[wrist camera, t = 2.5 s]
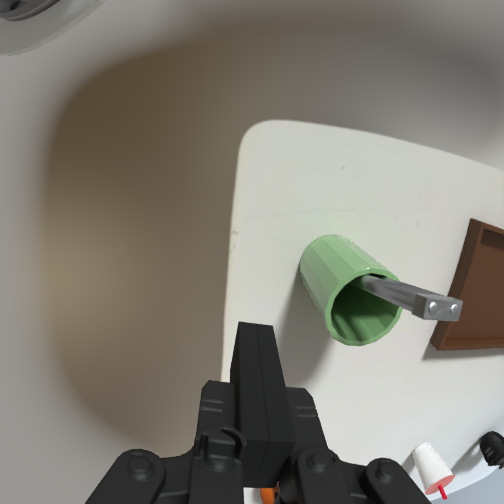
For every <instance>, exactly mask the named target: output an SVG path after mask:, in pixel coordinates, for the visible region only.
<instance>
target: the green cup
mask: <svg viewBox="0 0 504 504" xmlns="http://www.w3.org/2000/svg"><path fill="white" fill-rule="evenodd" d="M369 273H374V274H377V275H380V276H384V277H387V278H390V279H393V280H396V281H399V279H398V278H397V277H396V276H395V275H394V274H393V273H391V272H390V271H389V270H388V269H386V268H385V267H384V266H383V265H381V264H380V263H379V262H378V261H376V260H375V259H374V258H372V257H371V256H370V255H369V254H367V253H366V252H365V251H363V250H362V249H361V248H359V247H358V246H357V245H356V244H354V243H353V242H351V241H350V240H349V239H347V238H345V237H343V236H340V235H325V236H322V237H320V238H318V239H316V240H314V241H313V242H312V243H311V244H310V245H309V246H308V247H307V248H306V249H305V251H304V253H303V255H302V257H301V261H300V275H301V278H302V281H303V283H304V285H305V287H306V289H307V291H308V293H309V295H310V297H311V299H312V300H313V302H314V304H315V306H316V308H317V310H318V312H319V314H320V316H321V318H322V320H323V322H324V324H325V326H326V328H327V329H328V331H329V332H330V334H331V335H332V337H333V338H334V339H335V340H337V341H339V342H341V343H343V344H345V345H349V346H363V345H366V344H370V343H373V342H375V341H377V340H379V339H380V338H382V337H383V336H384V335H386V334H387V333H389V332H390V330H391V329H392V328H393V326H394V325H395V324H396V323H397V321H398V319H399V318H400V315H401V312H402V309H403V308H402V307H400V306H398V305H395V304H393V303H391V302H389V301H387V300H385V299H382V298H380V297H378V296H376V295H374V294H371V293H369V292H367V291H365V290H362V289H360V288H358V287H356V286H354V285H351V284H349V282H350V281H352V280H353V279H354V278H356V277H358V276H362V275H366V274H369ZM399 282H400V281H399Z"/></svg>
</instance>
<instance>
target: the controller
mask: <svg viewBox="0 0 504 504" xmlns="http://www.w3.org/2000/svg"><path fill="white" fill-rule="evenodd" d="M480 449H481V451H482V453H483V455H484V458H485V460H486V462H487V463H488V466H496V465H500V467H499V469H501V468H503V467H504V437H503V436H502V435H500V434H499V433H497V432H494V431H491V432H489V433H487V434H486V435H485V436H484V437H483V438H482V440H481V442H480Z"/></svg>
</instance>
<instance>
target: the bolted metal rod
mask: <svg viewBox="0 0 504 504" xmlns="http://www.w3.org/2000/svg"><path fill="white" fill-rule="evenodd" d="M349 284H351V285H354V286H356V287H358V288H360V289H362V290H365V291H367V292H369V293H371V294H374V295H376V296H378V297H380V298H382V299H385V300H387V301H389V302H391V303H393V304H395V305H398V306H400V307H402V308H404V309H406V310H409V311H411V312H412V314H413V315H415V316H417V317H419V318H421V319H425V320H442V321H458V320H459V317H460V313H461V309H462V304H463V301H462V300H459V299H456V298H453V297H447V296H443V295H440V294H437V293H434V292H431V291H428V290H425V289H421V288H418V287H415V286H412V285H409V284H406V283H403V282H399V281H396V280H393V279H390V278H387V277H384V276H380V275H377V274H374V273H369V274H366V275H362V276H358V277H356V278H354V279H353V280H352V281H350V282H349Z"/></svg>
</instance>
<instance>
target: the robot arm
mask: <svg viewBox="0 0 504 504" xmlns="http://www.w3.org/2000/svg"><path fill="white" fill-rule="evenodd" d="M58 1H60V0H0V17H1V18H3V19H5V20H8V21H20V20H25V19H28V18H30V17H33V16H35V15H37V14H39V13H41V12H43V11H45V10H46V9H48V8H50V7H51V6H53V5H54V4H56V3H57V2H58ZM315 408H316V407H315V404H314V400H313V397H312V396H311V395H310V394H309V393H308V391H307V390H306V389H305V388H292V387H285V382H284V377H283V372H282V368H281V363H280V358H279V353H278V349H277V344H276V339H275V334H274V330H273V326H271V325H262V324H254V323H246V322H239V323H238V328H237V334H236V340H235V345H234V351H233V357H232V362H231V368H230V383H227V382H219V381H212V380H209V381H208V382H207V383H206V384H205V385H204V387H203V388H202V392H201V400H200V407H199V415H198V424H197V432H196V437H195V441H194V446H193V447H192V448H191V450H189V451H188V452H187V453H185V454H183V455H181V456H176V457H168V458H159V456H158V455H156V454H154V453H152V452H151V451H147V450H143V449H131V450H129V451H126V452H123V453H122V454H121V455H120V456H119V457H118V458H117V459H116V461H115V462H114V463H113V465H112V466H111V468H110V469H109V470H108V472H107V473H106V475H105V476H104V477H103V479H102V480H101V482H100V483H99V484H98V486H97V487H96V489H95V490H94V491H93V493H92V494H91V496H90V497H89V498H88V500H87V501H86V503H85V504H244V491H243V487H248V488H275V487H276V485H277V483H278V482H279V489H280V492H279V494H278V496H277V498H276V500H275V501H274V503H273V504H431V503H430V501H429V500H428V499H427V497H426V496H425V495H424V494H423V492H422V491H421V490H420V489H419V488H418V486H417V485H416V484H415V483H414V481H413V480H412V479H411V478H410V476H409V475H408V474H407V473H406V471H405V470H404V469H403V468H402V466H401V465H399V464H398V463H397V462H396V461H394V460H391V459H388V458H378V459H374V460H373V461H371V462H370V463H369V464H368V465H367V466H363V465H357V464H351V463H347V462H343V461H341V460H340V459H339V457H338V456H337V454H335V453H334V452H333V451H332V450H330V449H328V446H327V443H326V440H325V437H324V433H323V430H322V427H321V423H320V420H319V417H318V413H317V410H316V409H315Z"/></svg>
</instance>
